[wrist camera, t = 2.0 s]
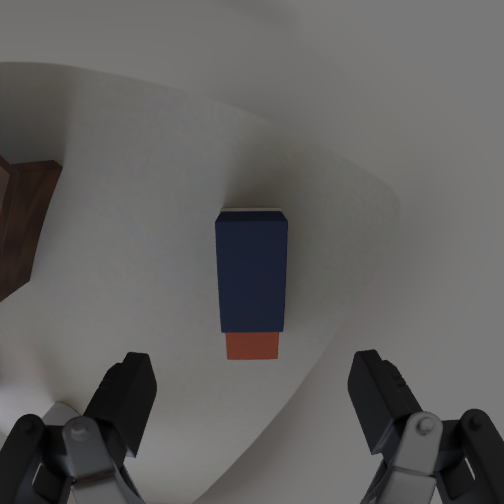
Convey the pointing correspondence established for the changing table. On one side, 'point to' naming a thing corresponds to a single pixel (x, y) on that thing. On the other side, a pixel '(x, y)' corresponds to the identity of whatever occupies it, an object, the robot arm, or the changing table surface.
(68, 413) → the dixie cup
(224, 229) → the block
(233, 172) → the changing table surface
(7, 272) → the shoe shelf
